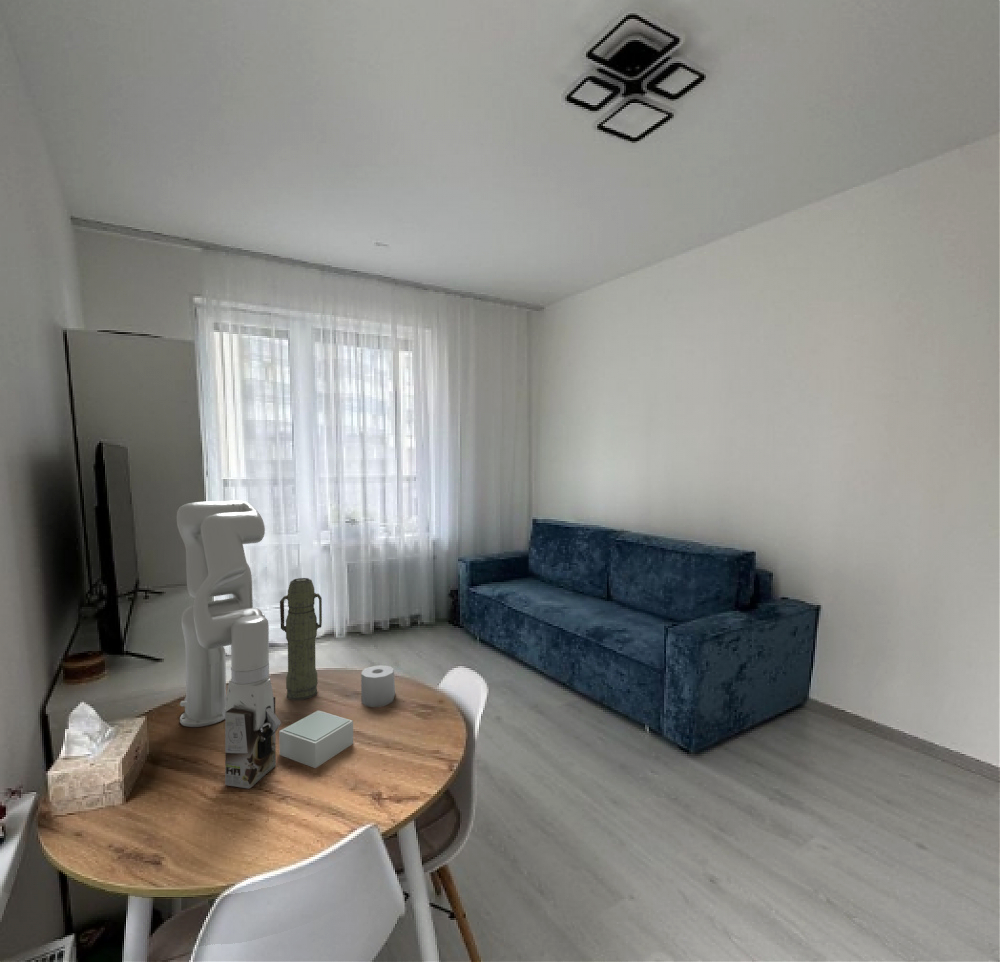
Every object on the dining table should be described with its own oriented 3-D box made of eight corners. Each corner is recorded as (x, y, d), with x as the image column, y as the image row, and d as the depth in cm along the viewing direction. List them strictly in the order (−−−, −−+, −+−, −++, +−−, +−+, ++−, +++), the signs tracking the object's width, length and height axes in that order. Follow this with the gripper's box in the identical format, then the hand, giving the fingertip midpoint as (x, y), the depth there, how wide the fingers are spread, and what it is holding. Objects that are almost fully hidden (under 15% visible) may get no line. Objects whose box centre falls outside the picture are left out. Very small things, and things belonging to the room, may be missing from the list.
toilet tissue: (397, 687, 161) (396, 660, 161) (391, 706, 147) (390, 677, 147) (367, 688, 160) (367, 661, 160) (359, 707, 147) (358, 678, 147)
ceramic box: (279, 755, 123) (279, 730, 122) (318, 733, 133) (318, 709, 133) (315, 769, 117) (315, 742, 117) (353, 744, 128) (353, 719, 127)
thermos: (281, 691, 158) (280, 578, 157) (321, 685, 162) (320, 575, 162) (280, 703, 150) (279, 584, 149) (322, 696, 154) (322, 580, 153)
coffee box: (250, 789, 109) (249, 714, 109) (224, 785, 110) (223, 711, 110) (277, 765, 118) (276, 696, 118) (252, 762, 119) (251, 693, 119)
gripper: (207, 673, 113) (208, 753, 114) (266, 685, 107) (267, 769, 107) (235, 662, 120) (236, 736, 121) (293, 672, 114) (294, 751, 114)
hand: (251, 751), depth 114 cm, fingers closed on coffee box, 7 cm apart
